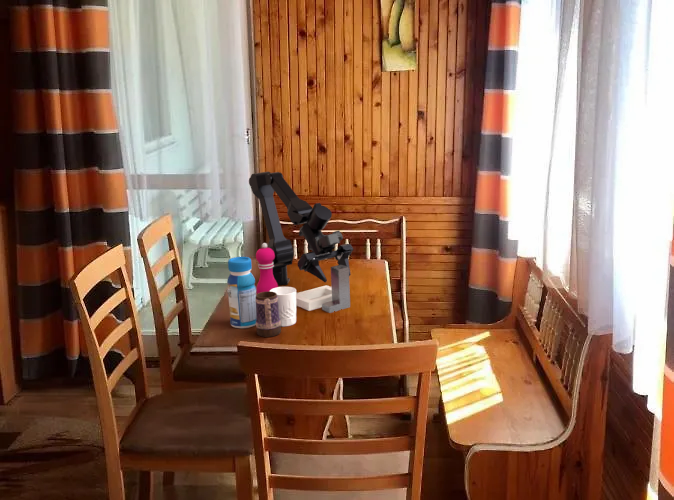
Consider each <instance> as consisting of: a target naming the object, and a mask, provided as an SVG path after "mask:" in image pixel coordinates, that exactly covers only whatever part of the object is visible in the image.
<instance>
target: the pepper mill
mask: <svg viewBox="0 0 674 500" xmlns="http://www.w3.org/2000/svg"><path fill="white" fill-rule="evenodd" d="M267 247H268V243H266V242H263V243H262V244H261V248H259V249H257V251H256V253H255V259H256V261H257V262H258V263H257V267H258V269H259V274H260V275H259V279H258V282H257V285H256V294H258V293H260V292H267V291H270V290H271V289H274V288H277V287H279V285H278V284H277V282H276V280H275V278H274V276H273V271H272V270H273V267H274V265H273V264H274V262H272V261H273V260H274V258H275V254H274V251H273V250H272V249H271V248H267Z"/></svg>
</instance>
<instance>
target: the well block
mask: <svg viewBox="0 0 674 500" xmlns="http://www.w3.org/2000/svg"><path fill="white" fill-rule="evenodd" d="M330 301H332V287H331V286H329V285H323V286H319V287H315V288H312V289H308V290H304V291H300V292H296V307H298V308H302V309H304V310H306V311H309V312H310V311H314V310H317V309H322V304H323V303H326V302H330Z"/></svg>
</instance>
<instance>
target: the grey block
mask: <svg viewBox="0 0 674 500" xmlns="http://www.w3.org/2000/svg"><path fill="white" fill-rule="evenodd" d="M349 267H350V266H349ZM349 267H347V266H344V265H339V264H336V265H335V266H334V265H333V266H330V279H331V280H330V282H331V286H330V287H332V301H330V302H326V303H323V304H322V307H321V311H324V312H326V313H329V314H332V313H335V312H339V311H341V309H342V310H345V309H348V308H351V293H350V292H351V291H350V276H349ZM334 311H335V312H334Z"/></svg>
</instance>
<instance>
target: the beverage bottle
mask: <svg viewBox="0 0 674 500" xmlns="http://www.w3.org/2000/svg"><path fill="white" fill-rule="evenodd" d="M227 266H228V267H227V268H228V272H229V273H230V274H229V275H228V277H227V280H226V285H227V286H228V287H227V291H226V293H227V296H228V308H229V321H230V322H229V324H230V326H231V327H233V328H235V329H249V328H252V327H255V326H256V299H255V298H256V294H257V293H256V288H257V286H256V285H255V283H256V279H255V276H254V275H253V273H252V272H251V271H252V267H253V266H252V259H251V258H250V257H249V256H235V257H231V258H229V259H228V260H227Z"/></svg>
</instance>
